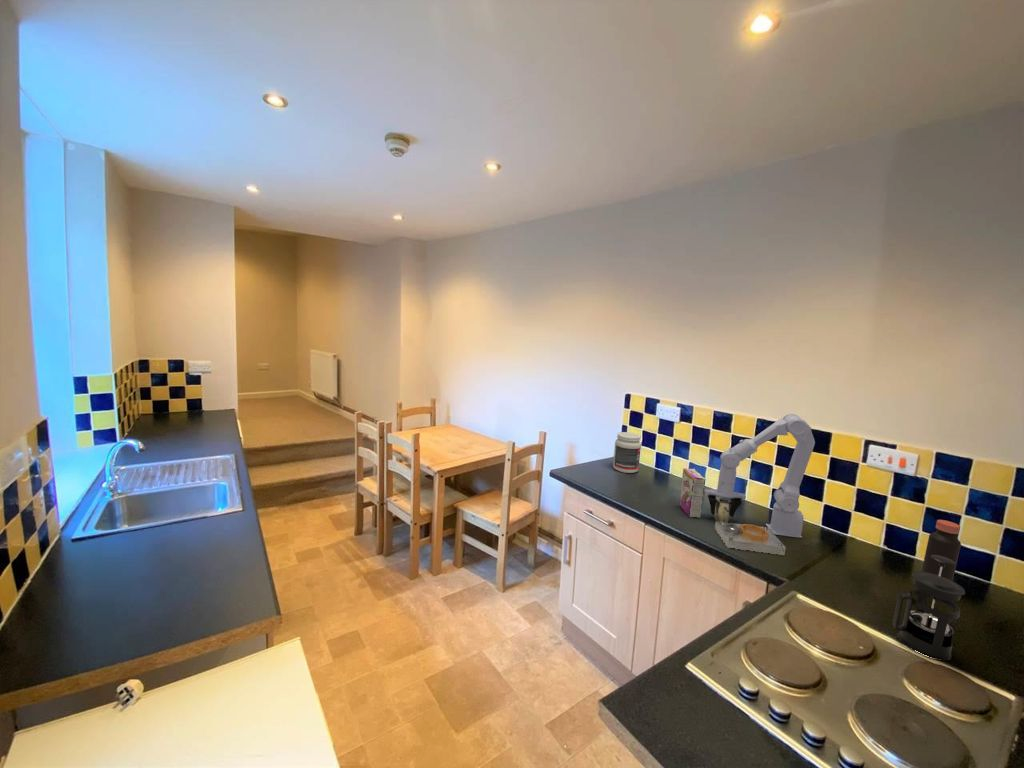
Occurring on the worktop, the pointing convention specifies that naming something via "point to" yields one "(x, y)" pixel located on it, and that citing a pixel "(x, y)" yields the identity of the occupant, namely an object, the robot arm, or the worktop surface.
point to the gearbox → (749, 538)
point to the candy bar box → (692, 492)
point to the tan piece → (722, 510)
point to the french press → (925, 622)
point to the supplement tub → (627, 452)
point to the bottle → (942, 548)
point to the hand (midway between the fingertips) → (721, 514)
